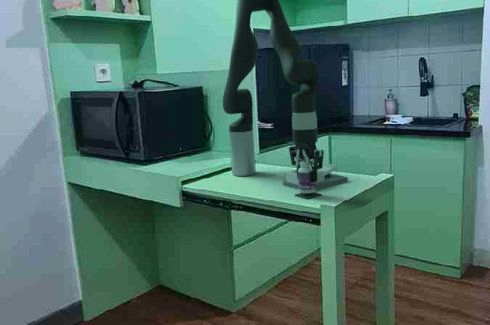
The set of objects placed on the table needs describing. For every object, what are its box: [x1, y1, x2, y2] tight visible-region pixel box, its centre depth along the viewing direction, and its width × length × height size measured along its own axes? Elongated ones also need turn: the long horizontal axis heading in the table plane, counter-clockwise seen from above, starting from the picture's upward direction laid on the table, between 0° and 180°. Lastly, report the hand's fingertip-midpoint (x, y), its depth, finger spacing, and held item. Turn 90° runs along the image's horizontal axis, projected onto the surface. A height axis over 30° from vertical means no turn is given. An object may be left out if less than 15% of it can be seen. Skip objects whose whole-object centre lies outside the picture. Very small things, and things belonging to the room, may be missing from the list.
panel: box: [282, 169, 349, 191], centre depth 155 cm, size 13×18×5 cm
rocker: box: [318, 163, 339, 176], centre depth 157 cm, size 4×8×1 cm, turn 123°
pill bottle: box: [298, 160, 317, 193], centre depth 139 cm, size 5×5×10 cm
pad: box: [294, 191, 323, 200], centre depth 140 cm, size 6×6×1 cm
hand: (307, 180), depth 140 cm, fingers closed on pill bottle, 5 cm apart
